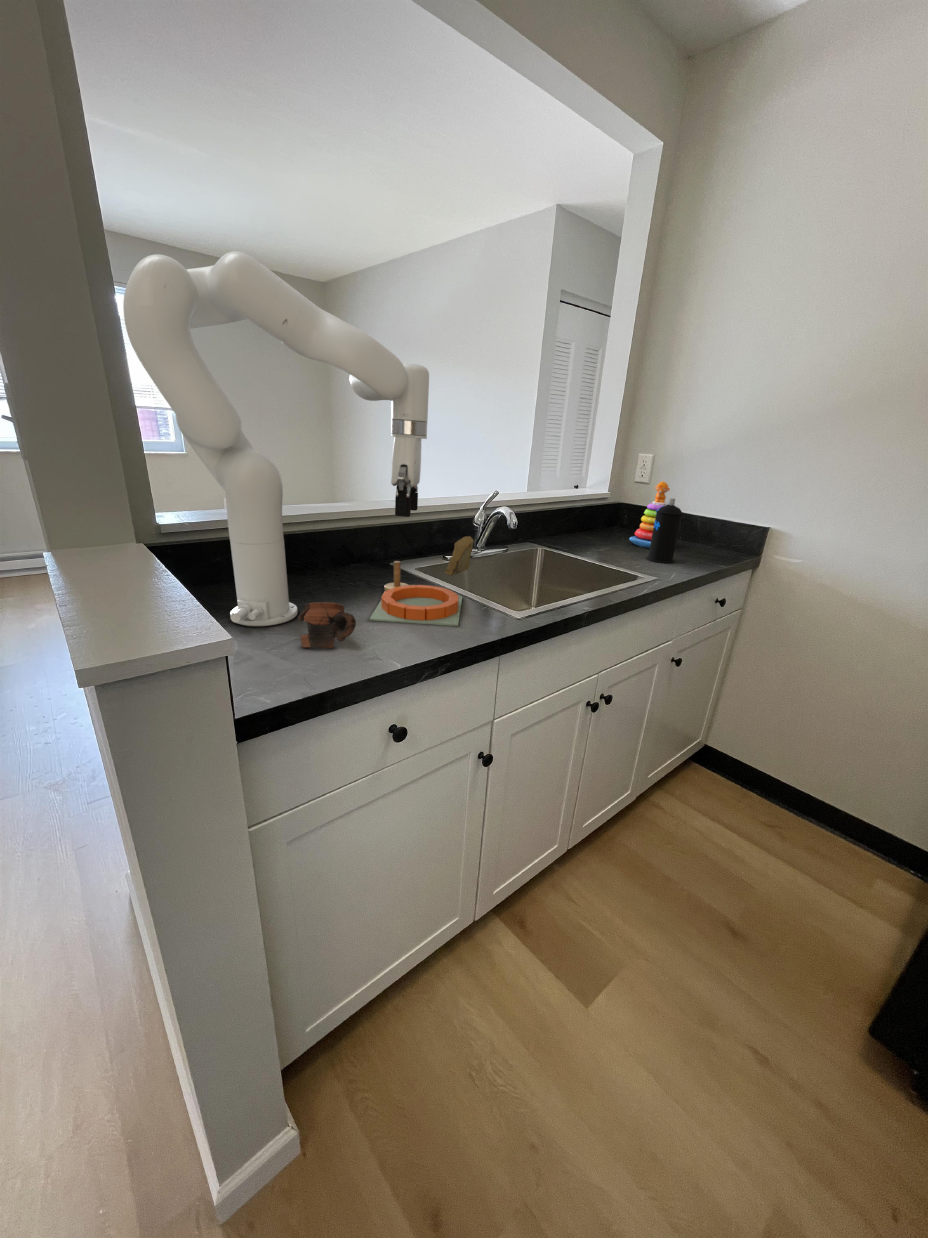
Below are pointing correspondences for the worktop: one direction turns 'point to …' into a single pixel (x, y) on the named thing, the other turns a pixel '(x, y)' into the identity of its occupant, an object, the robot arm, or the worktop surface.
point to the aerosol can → (665, 533)
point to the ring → (419, 611)
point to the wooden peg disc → (396, 577)
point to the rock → (460, 556)
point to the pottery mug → (325, 624)
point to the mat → (418, 601)
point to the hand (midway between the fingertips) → (406, 512)
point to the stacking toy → (650, 517)
